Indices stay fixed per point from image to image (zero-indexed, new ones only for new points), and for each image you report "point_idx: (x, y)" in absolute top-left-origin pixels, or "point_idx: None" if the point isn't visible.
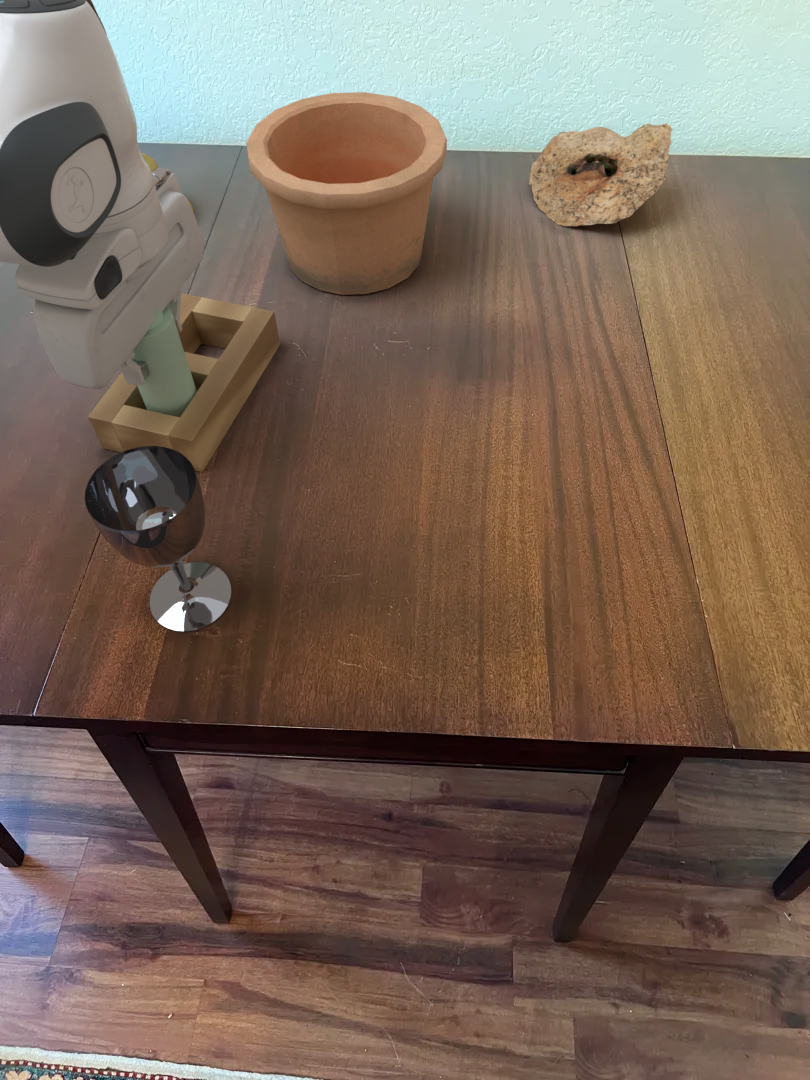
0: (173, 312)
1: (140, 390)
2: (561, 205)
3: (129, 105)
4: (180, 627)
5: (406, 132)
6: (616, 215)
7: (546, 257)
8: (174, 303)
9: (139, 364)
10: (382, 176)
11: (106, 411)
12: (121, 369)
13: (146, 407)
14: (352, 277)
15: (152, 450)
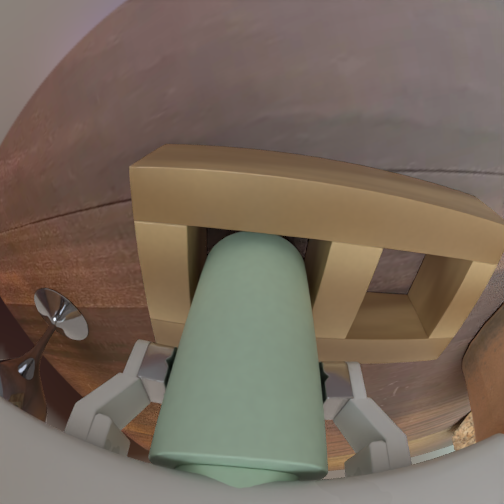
0: (345, 431)
1: (198, 288)
2: None
3: None
4: (41, 314)
5: None
6: (456, 434)
7: (450, 415)
8: (356, 448)
9: (156, 399)
10: None
11: (156, 198)
12: (123, 372)
13: (213, 250)
14: (472, 369)
15: None
